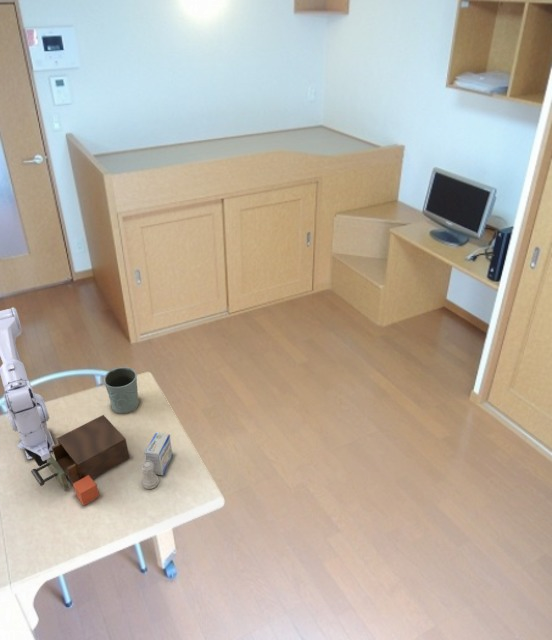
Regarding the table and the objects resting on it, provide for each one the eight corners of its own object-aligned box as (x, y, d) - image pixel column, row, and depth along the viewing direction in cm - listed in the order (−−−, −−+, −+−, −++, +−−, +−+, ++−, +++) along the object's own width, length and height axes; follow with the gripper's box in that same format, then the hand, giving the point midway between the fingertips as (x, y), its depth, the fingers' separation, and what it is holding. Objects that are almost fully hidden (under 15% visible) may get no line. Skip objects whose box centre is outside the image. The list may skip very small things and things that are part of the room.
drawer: (47, 500, 141) (42, 485, 137) (29, 474, 148) (24, 458, 145) (110, 465, 151) (106, 449, 148) (90, 441, 159) (86, 426, 155)
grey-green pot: (127, 391, 180) (122, 363, 173) (148, 402, 175) (143, 374, 168) (103, 407, 173) (96, 378, 166) (124, 420, 168) (118, 391, 161)
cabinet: (83, 484, 146) (77, 464, 142) (62, 457, 154) (56, 438, 150) (129, 458, 154) (125, 438, 150) (107, 433, 163) (103, 414, 158)
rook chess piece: (161, 479, 148) (158, 459, 143) (153, 491, 144) (150, 471, 140) (147, 475, 149) (144, 455, 145) (139, 487, 145) (135, 467, 141)
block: (83, 505, 140) (80, 493, 138) (76, 495, 143) (72, 483, 140) (99, 496, 143) (96, 484, 140) (91, 486, 146) (88, 474, 143)
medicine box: (162, 476, 149) (159, 454, 144) (148, 473, 149) (144, 452, 145) (173, 455, 155) (169, 434, 151) (158, 453, 156) (155, 431, 151)
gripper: (3, 418, 137) (17, 455, 144) (24, 449, 128) (38, 487, 135) (30, 406, 141) (42, 443, 148) (53, 435, 132) (64, 472, 139)
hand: (42, 463), depth 142 cm, fingers closed
